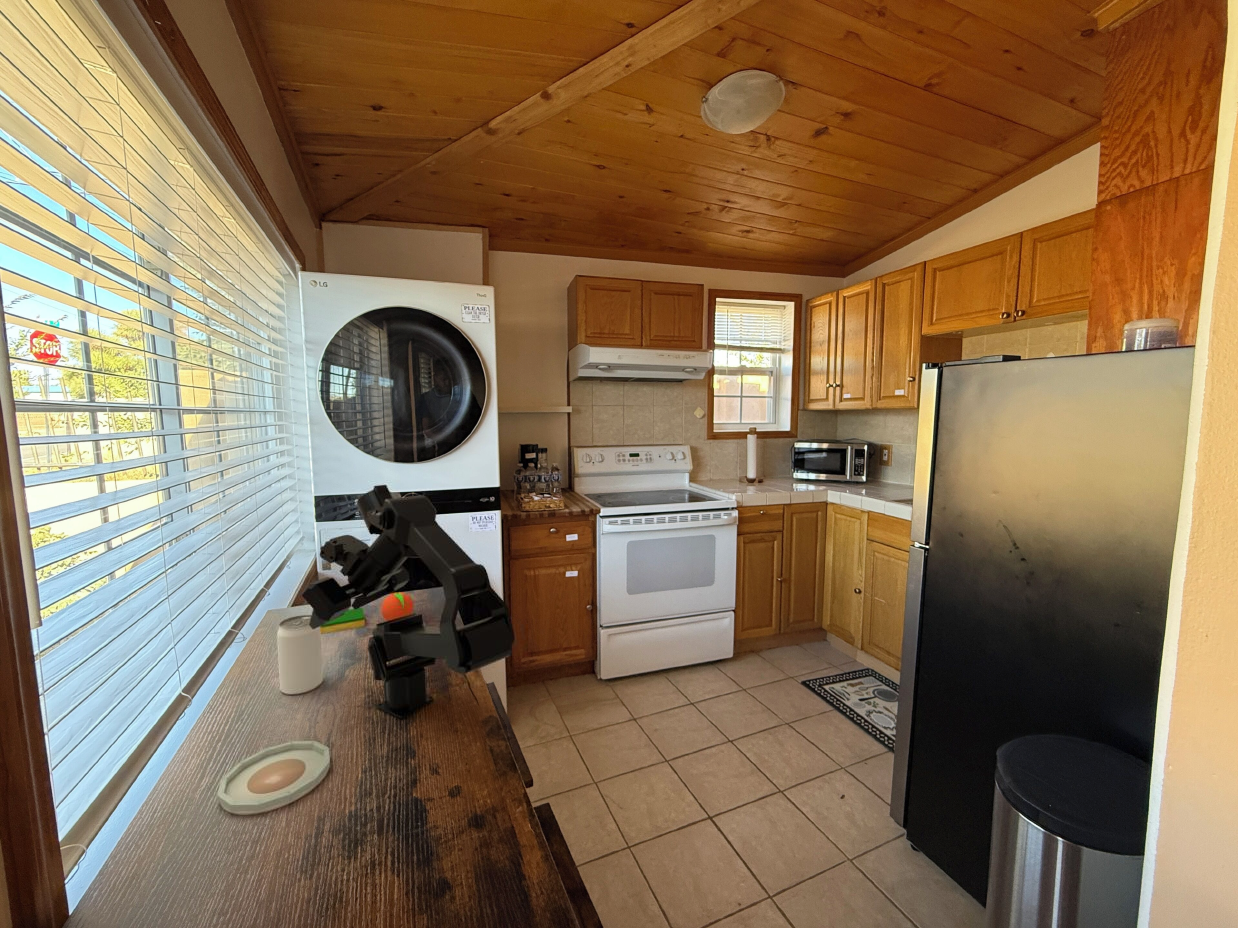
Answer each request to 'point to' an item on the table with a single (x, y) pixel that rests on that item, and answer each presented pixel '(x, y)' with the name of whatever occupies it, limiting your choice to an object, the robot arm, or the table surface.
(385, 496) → the robot arm
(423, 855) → the table surface
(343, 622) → the dish sponge
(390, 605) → the clementine
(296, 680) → the can
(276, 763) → the saucer
